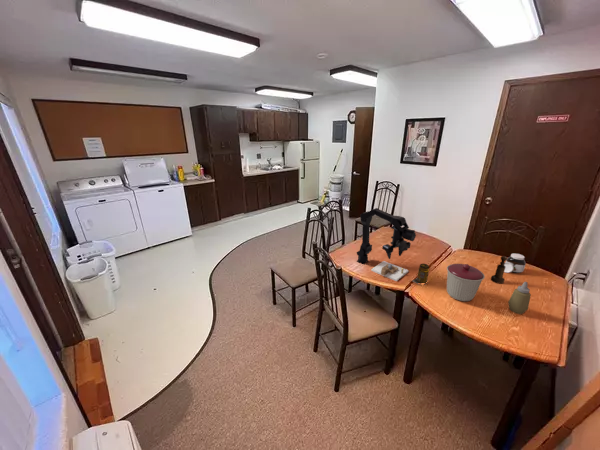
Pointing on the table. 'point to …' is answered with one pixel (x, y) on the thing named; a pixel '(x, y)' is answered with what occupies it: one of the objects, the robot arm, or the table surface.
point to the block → (388, 270)
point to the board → (389, 275)
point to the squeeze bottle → (520, 299)
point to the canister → (463, 281)
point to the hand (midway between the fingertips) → (394, 257)
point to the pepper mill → (499, 272)
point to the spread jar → (515, 263)
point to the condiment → (422, 274)
